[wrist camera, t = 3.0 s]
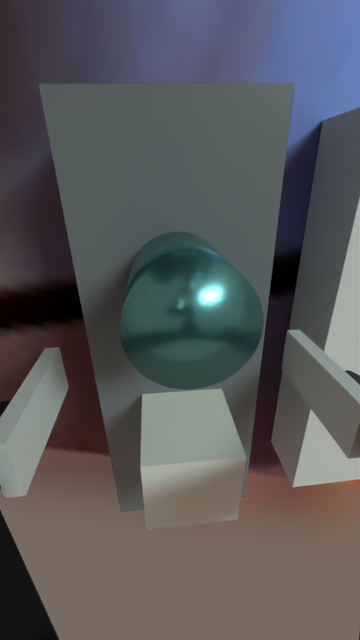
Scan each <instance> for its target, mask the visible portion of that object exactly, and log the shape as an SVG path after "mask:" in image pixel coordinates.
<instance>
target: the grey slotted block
mask: <svg viewBox="0 0 360 640" xmlns="http://www.w3.org/2000/svg"><path fill="white" fill-rule="evenodd" d="M39 89H40V94H41V100H42V105H43V110H44V115H45V120H46V126H47V131H48V136H49V141H50V146H51V151H52V157H53V162H54V167H55V172H56V177H57V183H58V188H59V193H60V198H61V203H62V208H63V214H64V219H65V224H66V229H67V234H68V240H69V245H70V250H71V255H72V260H73V265H74V271H75V276H76V281H77V286H78V291H79V297H80V302H81V307H82V312H83V317H84V322H85V328H86V333H87V338H88V343H89V348H90V354H91V359H92V364H93V369H94V374H95V379H96V385H97V390H98V395H99V400H100V405H101V411H102V416H103V421H104V426H105V431H106V436H107V442H108V447H109V452H110V457H111V462H112V467H113V473H114V478H115V483H116V488H117V493H118V499H119V504H120V509H121V512H126V511H134V510H142V509H144V500H143V490H142V479H141V468H140V461H141V420H142V394H152V393H166V392H180V391H194V390H208V389H222V391H223V393H224V396H225V399H226V402H227V405H228V407H229V410H230V413H231V416H232V418H233V421H234V424H235V427H236V429H237V432H238V435H239V438H240V441H241V443H242V446H243V449H244V452H245V454H246V463H245V470H244V477H243V484H242V491H241V497H245V494H246V486H247V477H248V469H249V461H250V453H251V444H252V436H253V427H254V419H255V411H256V402H257V394H258V385H259V377H260V369H261V360H262V352H263V343H264V335H265V327H266V318H267V310H268V301H269V293H270V285H271V276H272V268H273V259H274V251H275V243H276V234H277V226H278V217H279V209H280V201H281V192H282V184H283V175H284V167H285V159H286V150H287V142H288V133H289V125H290V117H291V108H292V100H293V91H294V83H226V84H39ZM169 232H187V233H191V234H194V235H197V236H199V237H201V238H203V239H204V240H206V241H207V242H208V243H210V244H211V245H212V246H213V247H214V248H215V249H216V250H217V251H218V252H219V253H220V254H221V255H222V256H223V257H224V258H225V259H226V260H227V261H228V262H229V263H230V264H231V265H232V266H233V267H234V268H235V269H236V270H237V271H238V272H239V273H240V274H241V275H242V276H243V277H244V278H245V279H246V280H247V281H248V282H249V283H250V284H251V285H252V287H253V288H254V290H255V291H256V293H257V294H258V297H259V299H260V301H261V305H262V309H263V316H264V325H263V332H262V336H261V339H260V342H259V345H258V347H257V349H256V351H255V352H254V354H253V355H252V357H251V358H250V360H249V361H248V362H247V363H246V364H245V365H244V366H243V367H242V368H241V369H240V370H239V371H238V372H236V373H235V374H234V375H232V376H231V377H229V378H227V379H226V380H224V381H222V382H220V383H217V384H214V385H212V386H208V387H204V388H199V389H187V390H184V389H174V388H169V387H165V386H162V385H159V384H157V383H155V382H152V381H151V380H149V379H147V378H146V377H144V376H143V375H142V374H140V373H139V372H138V371H137V370H136V369H135V368H134V367H133V365H132V364H131V363H130V361H129V360H128V358H127V356H126V354H125V352H124V350H123V347H122V343H121V339H120V320H121V315H122V310H123V305H124V300H125V295H126V289H127V284H128V279H129V274H130V269H131V265H132V263H133V260H134V258H135V256H136V255H137V253H138V252H139V250H140V249H141V248H142V247H143V246H144V245H145V244H146V243H147V242H149V241H150V240H152V239H153V238H155V237H157V236H159V235H162V234H165V233H169Z"/></svg>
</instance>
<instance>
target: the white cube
mask: <svg viewBox="0 0 360 640" xmlns="http://www.w3.org/2000/svg"><path fill="white" fill-rule="evenodd" d="M245 463H246V454H245V452H244V449H243V446H242V443H241V441H240V438H239V435H238V432H237V429H236V427H235V424H234V421H233V418H232V416H231V413H230V410H229V407H228V405H227V402H226V399H225V396H224V393H223V391H222V389H208V390H194V391H180V392H166V393H152V394H142V420H141V461H140V468H141V479H142V490H143V500H144V511H145V521H146V530H150V529H158V528H167V527H176V526H184V525H192V524H202V523H211V522H219V521H228V520H237V519H238V512H239V505H240V498H241V491H242V484H243V477H244V470H245Z"/></svg>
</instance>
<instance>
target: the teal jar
mask: <svg viewBox="0 0 360 640" xmlns="http://www.w3.org/2000/svg"><path fill="white" fill-rule="evenodd" d="M263 325H264V316H263V309H262V305H261V301H260V299H259V297H258V294H257V293H256V291H255V290H254V288H253V287H252V285H251V284H250V283H249V282H248V281H247V280H246V279H245V278H244V277H243V276H242V275H241V274H240V273H239V272H238V271H237V270H236V269H235V268H234V267H233V266H232V265H231V264H230V263H229V262H228V261H227V260H226V259H225V258H224V257H223V256H222V255H221V254H220V253H219V252H218V251H217V250H216V249H215V248H214V247H213V246H212V245H211V244H210V243H208V242H207V241H206V240H204V239H203V238H201V237H199V236H197V235H194V234H191V233H187V232H169V233H165V234H162V235H159V236H157V237H155V238H153V239H152V240H150V241H149V242H147V243H146V244H145V245H144V246H143V247H142V248H141V249H140V250H139V252H138V253H137V255H136V256H135V258H134V260H133V263H132V265H131V269H130V274H129V279H128V284H127V289H126V295H125V300H124V305H123V310H122V315H121V320H120V339H121V343H122V347H123V350H124V352H125V354H126V356H127V358H128V360H129V361H130V363H131V364H132V365H133V367H134V368H135V369H136V370H137V371H138V372H139V373H140V374H142V375H143V376H144V377H146V378H147V379H149V380H151V381H152V382H155V383H157V384H159V385H162V386H165V387H169V388H174V389H184V390H187V389H199V388H204V387H208V386H212V385H214V384H217V383H220V382H222V381H224V380H226V379H227V378H229V377H231V376H232V375H234V374H235V373H236V372H238V371H239V370H240V369H241V368H242V367H243V366H244V365H245V364H246V363H247V362H248V361H249V360H250V358H251V357H252V355H253V354H254V352H255V351H256V349H257V347H258V345H259V342H260V339H261V336H262V332H263Z"/></svg>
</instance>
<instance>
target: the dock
mask: <svg viewBox="0 0 360 640" xmlns="http://www.w3.org/2000/svg"><path fill="white" fill-rule="evenodd" d="M298 329H300V330H301V331H302V332H303V333H304V334H305V335H306V336H307V337H308V338H309V339H310V340H311V341H313V342H314V343H315V344H316V345H317V346H318V347H319V348H320V349H321V350H322V351H323V352H325V353H326V354H327V355H328V356H329V357H330V358H331V359H332V360H333V361H334V362H335V363H336V364H338V365H339V366H340V367H341V368H342V369H343V370H344V371H347V370H350V371H352V372H354V373H356V374H358V375H360V108H357V109H354V110H351V111H348V112H346V113H343V114H340V115H337V116H334V117H331V118H329V119H326V120H323V122H322V128H321V134H320V140H319V146H318V153H317V159H316V165H315V171H314V177H313V184H312V190H311V196H310V202H309V208H308V215H307V221H306V227H305V233H304V239H303V246H302V252H301V258H300V264H299V270H298V277H297V283H296V289H295V295H294V301H293V308H292V314H291V320H290V326H289V330H298ZM271 443H272V445H273V447H274V449H275V451H276V453H277V455H278V457H279V460H280V462H281V464H282V466H283V468H284V470H285V472H286V474H287V476H288V478H289V480H290V483H291V485H292V487H298V486H306V485H315V484H323V483H331V482H340V481H348V480H356V479H360V457H359V458H350V459H348V458H347V456H346V455H345V454H344V452H343V451H342V450H341V448H340V447H339V446H338V444H337V443H336V442H335V440H334V439H333V438H332V436H331V435H330V434H329V432H328V431H327V430H326V428H325V427H324V426H323V424H322V423H321V422H320V420H319V419H318V418H317V416H316V415H315V414H314V412H313V411H312V410H311V408H310V407H309V406H308V404H307V403H306V401H305V400H304V399H303V397H302V396H301V395H300V393H299V392H298V391H297V389H296V388H295V387H294V385H293V384H292V383H291V381H290V380H289V379H288V377H287V376H286V375H285V373H284V372H283V371H282V376H281V382H280V388H279V394H278V401H277V407H276V413H275V419H274V425H273V432H272V438H271Z"/></svg>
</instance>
